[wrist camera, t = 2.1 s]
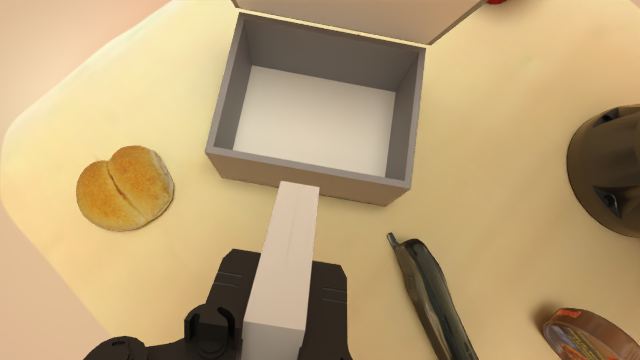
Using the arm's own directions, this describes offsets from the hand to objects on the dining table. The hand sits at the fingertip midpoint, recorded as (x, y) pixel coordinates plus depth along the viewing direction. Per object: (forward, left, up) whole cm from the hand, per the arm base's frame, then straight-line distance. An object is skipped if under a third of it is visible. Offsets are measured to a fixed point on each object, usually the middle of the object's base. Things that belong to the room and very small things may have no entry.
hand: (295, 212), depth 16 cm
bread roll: (+18, -4, -27) cm, 32 cm away
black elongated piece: (-15, +2, -27) cm, 30 cm away
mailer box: (0, -13, -26) cm, 29 cm away
